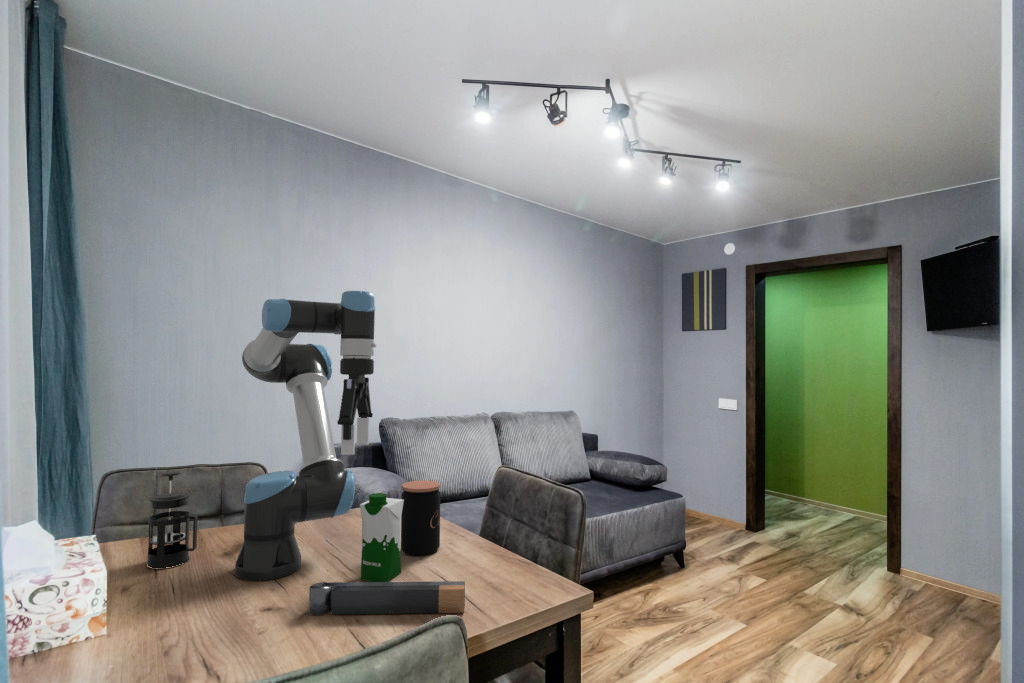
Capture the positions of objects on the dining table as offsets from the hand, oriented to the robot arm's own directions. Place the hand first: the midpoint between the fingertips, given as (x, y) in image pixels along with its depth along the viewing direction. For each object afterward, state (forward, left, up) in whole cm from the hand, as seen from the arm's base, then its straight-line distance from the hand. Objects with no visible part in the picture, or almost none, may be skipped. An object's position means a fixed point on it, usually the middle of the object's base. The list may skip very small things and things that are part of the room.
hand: (355, 449), depth 125 cm
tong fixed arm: (+10, -11, -32) cm, 35 cm away
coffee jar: (+12, +25, -32) cm, 42 cm away
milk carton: (+5, +7, -32) cm, 33 cm away
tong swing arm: (+13, -12, -31) cm, 36 cm away
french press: (-51, +17, -32) cm, 63 cm away
